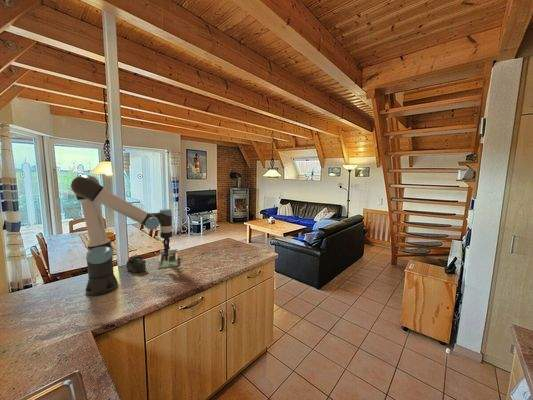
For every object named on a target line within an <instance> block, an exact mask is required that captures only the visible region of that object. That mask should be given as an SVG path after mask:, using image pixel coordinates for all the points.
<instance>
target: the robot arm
mask: <svg viewBox="0 0 533 400" xmlns="http://www.w3.org/2000/svg"><path fill="white" fill-rule="evenodd" d="M70 188H71V189H70V190H71V191H72V192H73V194H74V195H75V197H76V201H78V202H80V205H81V208H82V214H83V217H84V223H85V225H86V230H87V231H86V232H87V236H88V239H89V242H88V244H87V245H86V246H87V249H88V251H87V252H86V256H85V260H86V264H87V266H86V267H87V275H88V278H87V283H86V287H85V295H87V296H89V297H97V296H102V295H106V294H110V293H112V292H113V291H115V290H117V289H118V287H119V281H118V280H117V278H116V275H115V274H114V263H113V262H114V261H113V260H114V258H113V257H114V252H115V251H114V247H113V245H112V242H111V241H112V240H111V239H110V238H108V236H107V232H106V228H105V227H106V226H105V223H104V217H103V212H102V208H101V207H102V206H101V205H103V206H105V207H107V208H108V209H111V210H113V211H115V212H116V213H118V214H120V215H122V216H125V217H126V218H129V219H131V220H132V221H135V222H137V223H139V224H140V225H141V226H144V227H146V228H147V229H149V230H150V231H151V230H156V229H158V227H159V229H160V230H159V231H160V234H159V235H160V238H161V239H163V240H162V243H163V247H164V249H163V250H164V255H163V256H164V265H169V250H171V247H170V244H171V243H170V242H171V241H170V239H171V238H172V237H173V228H174V226H173V214H172V212H173V211H172V209H170V208H162V209H160V210H159V212H151V213H150V212H147V211H145V210H144V209H142V208H139V207H138V206H136V205H134V204H132V203H131V202H128V201H127V200H125V199H123V198H121V197H119V196H117V195H116V194H114V193H112V192H111V191H109V190H106V187H104V186H103V185H101V184H100V181H99V179H97V178H96V177H95V176H93V175H90V174H84V175H83V174H82V175H77V176H75V178H74V179H73V180H72V181H71V184H70Z"/></svg>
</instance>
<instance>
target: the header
mask: <svg viewBox="0 0 533 400" xmlns="http://www.w3.org/2000/svg"><path fill="white" fill-rule="evenodd" d="M169 251H174V260H169V265H164V256H163V254H164V249H163V250H159V257H158V264H157V269H158V270H159V269H166V268H168V269H169V268H174V267H175V268H176V267H179V255H178V248H173V249H171V248H170V249H169Z"/></svg>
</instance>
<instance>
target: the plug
mask: <svg viewBox="0 0 533 400" xmlns="http://www.w3.org/2000/svg"><path fill="white" fill-rule="evenodd" d="M163 255H164V254H163ZM169 260H174V251H169Z"/></svg>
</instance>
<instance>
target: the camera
mask: <svg viewBox="0 0 533 400" xmlns="http://www.w3.org/2000/svg"><path fill="white" fill-rule="evenodd" d="M146 263H147V262H146V260H145V259H143V256H142V255H132V256H131V258H128V260H127V261H126V269H127V271H130V272H132V273H136V274H141V273H144V272H145V271H146Z"/></svg>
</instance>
